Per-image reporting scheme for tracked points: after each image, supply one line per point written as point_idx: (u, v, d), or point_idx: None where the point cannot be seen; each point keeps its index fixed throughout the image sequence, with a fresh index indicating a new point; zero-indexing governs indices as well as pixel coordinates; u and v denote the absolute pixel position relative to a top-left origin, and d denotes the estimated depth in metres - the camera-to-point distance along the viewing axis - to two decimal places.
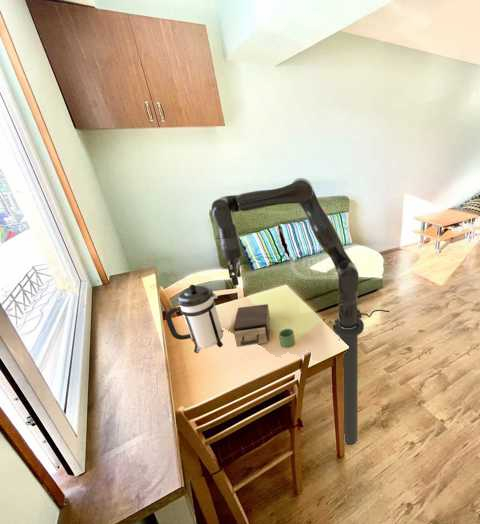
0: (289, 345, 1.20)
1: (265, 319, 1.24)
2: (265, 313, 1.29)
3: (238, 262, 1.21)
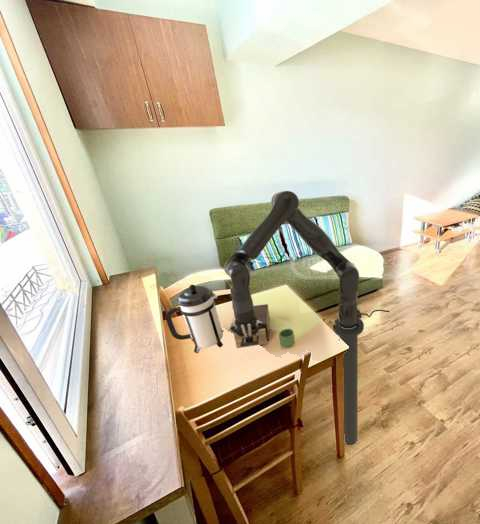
0: (289, 345, 1.20)
1: (265, 319, 1.24)
2: (265, 313, 1.29)
3: None
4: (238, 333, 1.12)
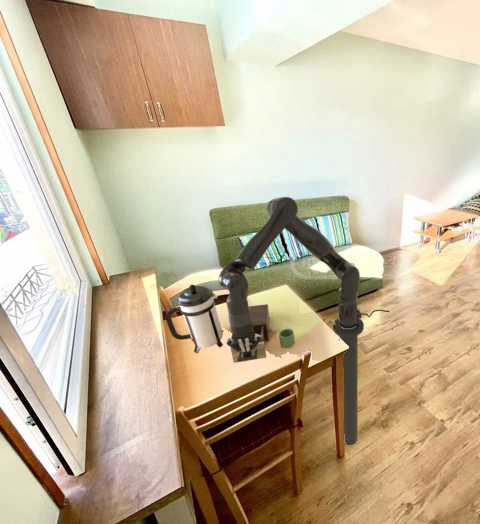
0: (289, 345, 1.20)
1: (265, 319, 1.24)
2: (265, 313, 1.29)
3: None
4: (235, 348, 1.04)
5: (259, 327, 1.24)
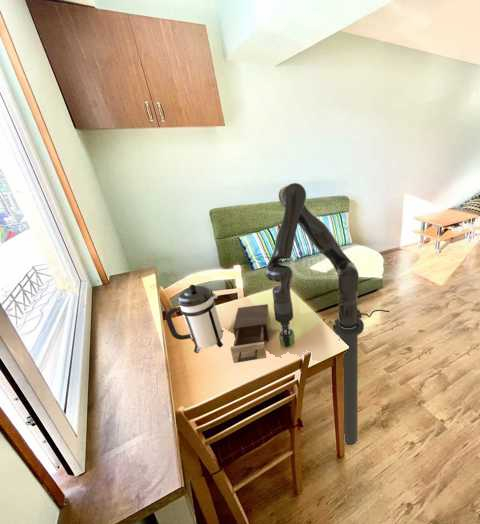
0: None
1: (265, 319, 1.24)
2: (265, 313, 1.29)
3: (281, 326, 1.18)
4: None
5: (259, 327, 1.24)
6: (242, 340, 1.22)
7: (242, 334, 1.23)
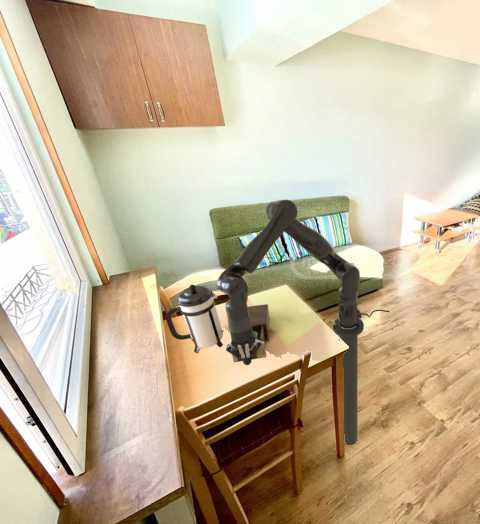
0: None
1: (265, 319, 1.24)
2: (265, 313, 1.29)
3: None
4: (235, 354, 1.01)
5: (259, 327, 1.24)
6: None
7: None
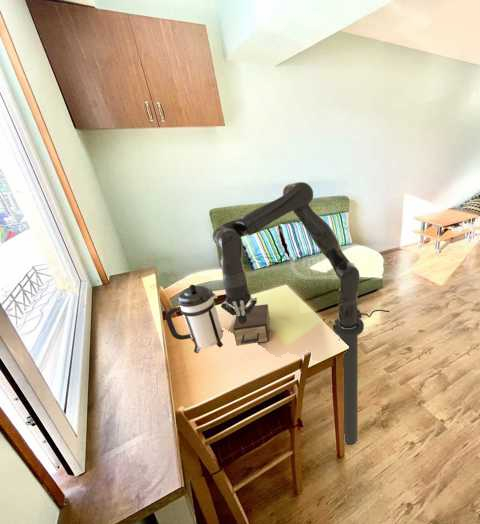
0: None
1: (265, 319, 1.24)
2: (265, 313, 1.29)
3: None
4: (230, 311, 1.01)
5: None
6: None
7: None
